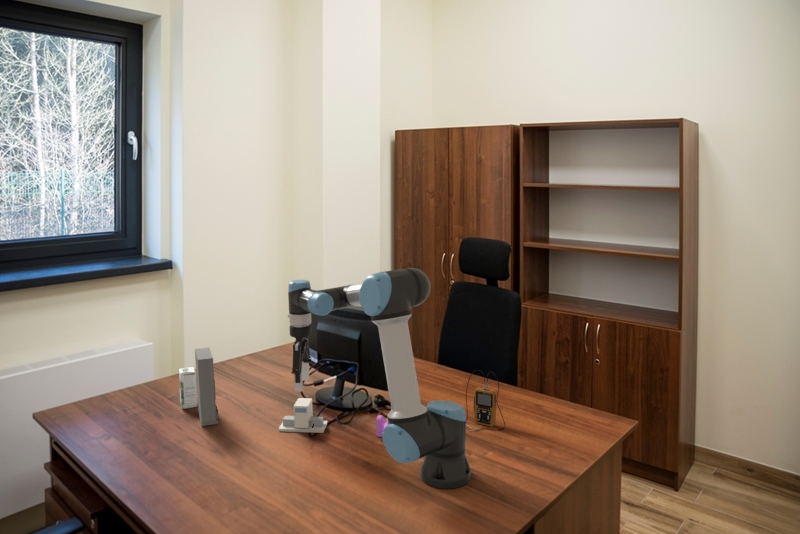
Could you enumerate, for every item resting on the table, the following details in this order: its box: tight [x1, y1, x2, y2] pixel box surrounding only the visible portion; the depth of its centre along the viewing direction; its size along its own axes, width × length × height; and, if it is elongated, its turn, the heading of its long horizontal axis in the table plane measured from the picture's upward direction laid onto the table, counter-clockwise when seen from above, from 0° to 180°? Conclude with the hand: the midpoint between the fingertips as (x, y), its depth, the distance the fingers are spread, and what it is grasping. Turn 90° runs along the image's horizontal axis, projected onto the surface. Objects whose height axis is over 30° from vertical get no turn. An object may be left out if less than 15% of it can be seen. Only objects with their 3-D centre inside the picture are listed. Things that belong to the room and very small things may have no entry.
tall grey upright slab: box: [194, 347, 219, 427], centre depth 239 cm, size 14×6×25 cm, turn 22°
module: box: [293, 397, 314, 428], centre depth 232 cm, size 5×8×8 cm, turn 176°
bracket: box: [375, 414, 389, 438], centre depth 230 cm, size 13×6×7 cm, turn 161°
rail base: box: [277, 415, 328, 434], centre depth 233 cm, size 16×8×4 cm, turn 86°
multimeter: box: [465, 369, 506, 432], centre depth 230 cm, size 15×10×20 cm
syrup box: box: [178, 367, 198, 410], centre depth 252 cm, size 6×6×14 cm
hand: (302, 385), depth 230 cm, fingers open, 10 cm apart
